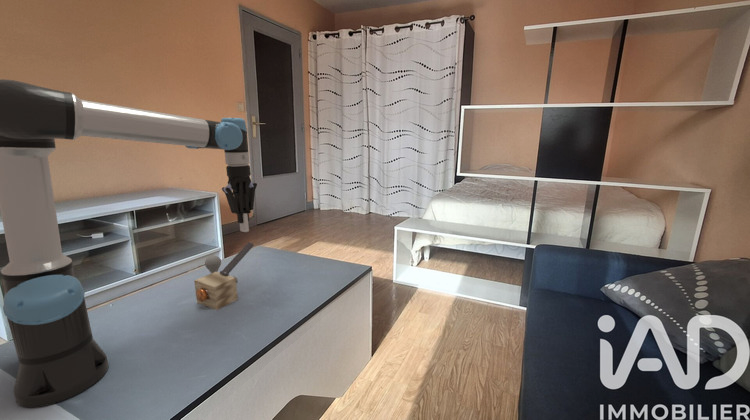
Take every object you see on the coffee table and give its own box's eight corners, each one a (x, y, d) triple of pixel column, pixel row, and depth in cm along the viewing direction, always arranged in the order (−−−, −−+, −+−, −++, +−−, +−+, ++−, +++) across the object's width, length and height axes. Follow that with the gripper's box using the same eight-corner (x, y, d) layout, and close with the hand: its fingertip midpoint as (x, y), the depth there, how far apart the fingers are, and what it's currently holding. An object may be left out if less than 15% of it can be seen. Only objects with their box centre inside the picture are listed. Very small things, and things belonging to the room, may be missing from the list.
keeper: (227, 276, 108) (225, 274, 107) (220, 274, 109) (219, 272, 109) (254, 245, 117) (253, 243, 117) (248, 244, 119) (247, 242, 118)
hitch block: (216, 310, 102) (214, 287, 100) (197, 302, 106) (194, 280, 105) (237, 299, 109) (235, 277, 107) (218, 292, 113) (216, 271, 111)
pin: (204, 303, 101) (203, 291, 100) (196, 299, 103) (195, 288, 102) (239, 286, 113) (238, 275, 112) (231, 283, 114) (230, 273, 113)
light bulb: (218, 283, 120) (215, 258, 118) (204, 283, 120) (201, 258, 118) (225, 277, 126) (222, 253, 123) (211, 277, 126) (209, 253, 123)
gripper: (228, 167, 101) (236, 237, 107) (260, 163, 113) (266, 227, 118) (213, 166, 105) (221, 234, 110) (246, 163, 116) (251, 225, 121)
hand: (244, 231), depth 114 cm, fingers closed
